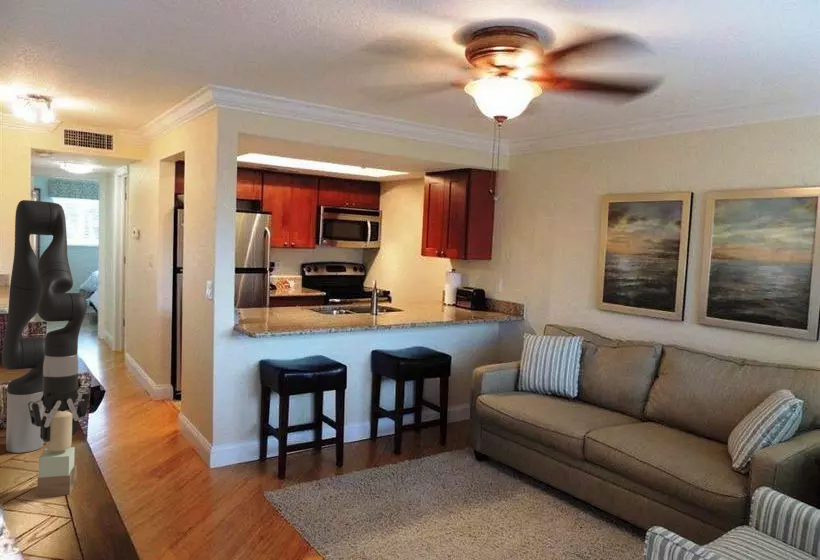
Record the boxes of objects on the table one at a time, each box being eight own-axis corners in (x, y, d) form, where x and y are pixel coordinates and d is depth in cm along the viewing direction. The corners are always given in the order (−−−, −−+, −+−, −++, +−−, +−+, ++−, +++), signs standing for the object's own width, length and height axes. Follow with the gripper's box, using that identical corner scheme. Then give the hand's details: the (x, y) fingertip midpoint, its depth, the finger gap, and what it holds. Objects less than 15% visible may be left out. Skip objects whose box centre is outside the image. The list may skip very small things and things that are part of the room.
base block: (45, 485, 147) (45, 466, 147) (76, 483, 149) (76, 465, 149) (37, 497, 141) (37, 477, 140) (69, 495, 143) (70, 475, 143)
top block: (45, 467, 146) (45, 448, 146) (74, 465, 149) (74, 446, 148) (38, 477, 140) (38, 457, 140) (68, 475, 143) (69, 456, 142)
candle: (59, 452, 141) (60, 412, 141) (40, 449, 142) (41, 410, 142) (76, 445, 147) (77, 406, 146) (58, 442, 148) (59, 404, 147)
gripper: (81, 365, 151) (80, 427, 153) (21, 373, 139) (20, 441, 140) (97, 370, 147) (95, 434, 149) (37, 379, 135) (35, 449, 136)
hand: (58, 437), depth 144 cm, fingers closed on candle, 5 cm apart
